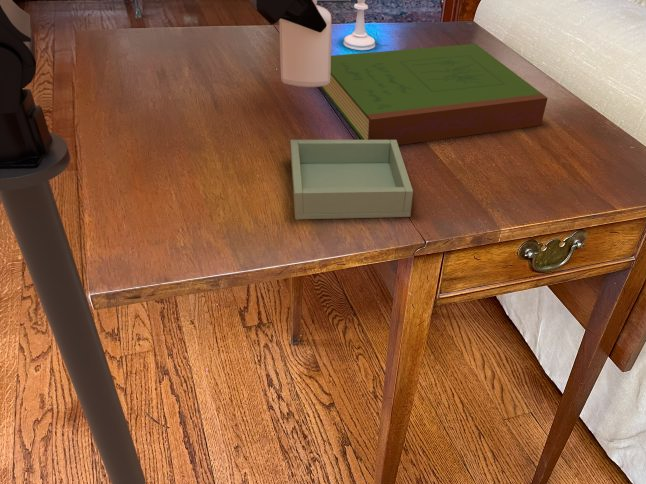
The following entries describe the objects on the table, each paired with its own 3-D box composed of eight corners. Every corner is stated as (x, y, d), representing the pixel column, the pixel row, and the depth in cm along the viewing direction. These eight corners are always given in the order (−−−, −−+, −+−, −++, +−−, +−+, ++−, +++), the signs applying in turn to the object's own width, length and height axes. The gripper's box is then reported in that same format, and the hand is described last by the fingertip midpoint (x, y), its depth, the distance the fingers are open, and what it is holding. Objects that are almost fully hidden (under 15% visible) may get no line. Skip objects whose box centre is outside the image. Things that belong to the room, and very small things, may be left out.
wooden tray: (295, 219, 63) (294, 192, 61) (291, 165, 71) (290, 139, 68) (410, 217, 65) (413, 191, 63) (394, 164, 73) (396, 139, 70)
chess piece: (377, 40, 101) (381, -28, 95) (372, 52, 97) (376, -19, 91) (346, 37, 101) (348, -32, 95) (341, 48, 98) (342, -23, 91)
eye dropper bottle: (318, 94, 71) (318, -22, 63) (274, 82, 72) (270, -34, 65) (336, 81, 74) (339, -31, 66) (294, 69, 76) (292, -42, 68)
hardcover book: (369, 149, 75) (370, 119, 72) (317, 84, 87) (317, 56, 84) (545, 124, 84) (552, 97, 81) (476, 68, 96) (480, 43, 93)
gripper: (291, -153, 50) (405, -8, 62) (237, -184, 63) (340, -59, 74) (201, -43, 53) (326, 77, 64) (166, -93, 65) (275, 15, 76)
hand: (317, 22), depth 69 cm, fingers closed on eye dropper bottle, 4 cm apart
